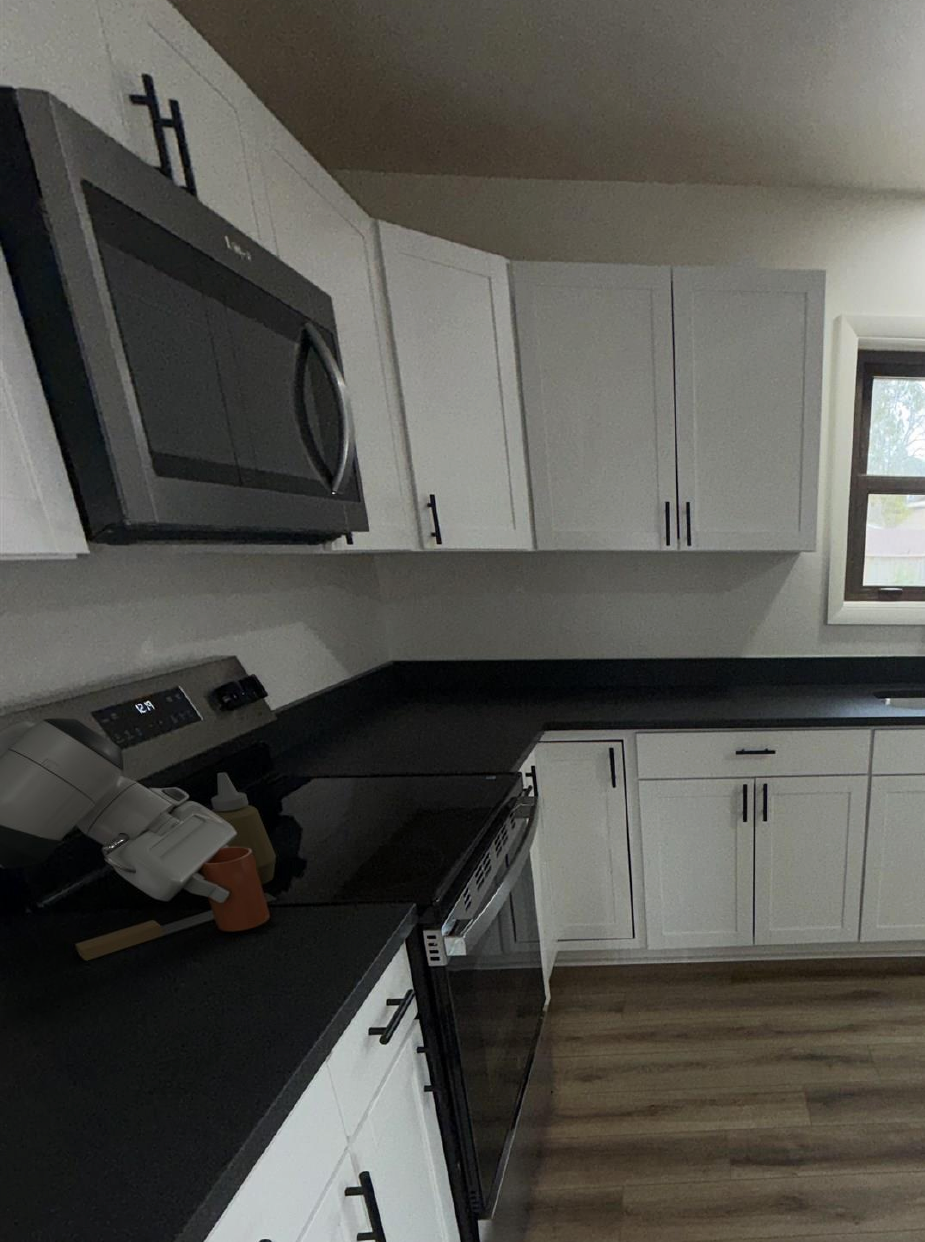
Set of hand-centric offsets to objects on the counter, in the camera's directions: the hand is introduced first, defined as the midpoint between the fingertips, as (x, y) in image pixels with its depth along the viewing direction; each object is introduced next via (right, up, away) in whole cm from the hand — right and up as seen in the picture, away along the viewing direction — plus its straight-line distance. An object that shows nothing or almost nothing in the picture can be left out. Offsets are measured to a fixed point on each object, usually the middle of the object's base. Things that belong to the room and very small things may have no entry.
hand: (238, 885), depth 109 cm
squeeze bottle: (-9, +1, +18) cm, 20 cm away
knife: (-10, -6, +4) cm, 12 cm away
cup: (-1, -5, +2) cm, 5 cm away
